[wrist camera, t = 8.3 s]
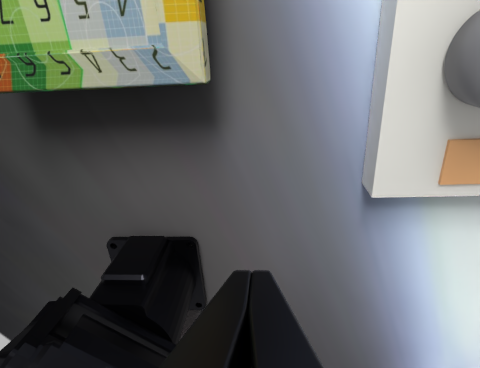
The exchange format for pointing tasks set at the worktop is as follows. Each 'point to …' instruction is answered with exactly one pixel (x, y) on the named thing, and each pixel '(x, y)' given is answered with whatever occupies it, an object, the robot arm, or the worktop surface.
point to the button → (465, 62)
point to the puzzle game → (101, 44)
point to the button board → (420, 106)
